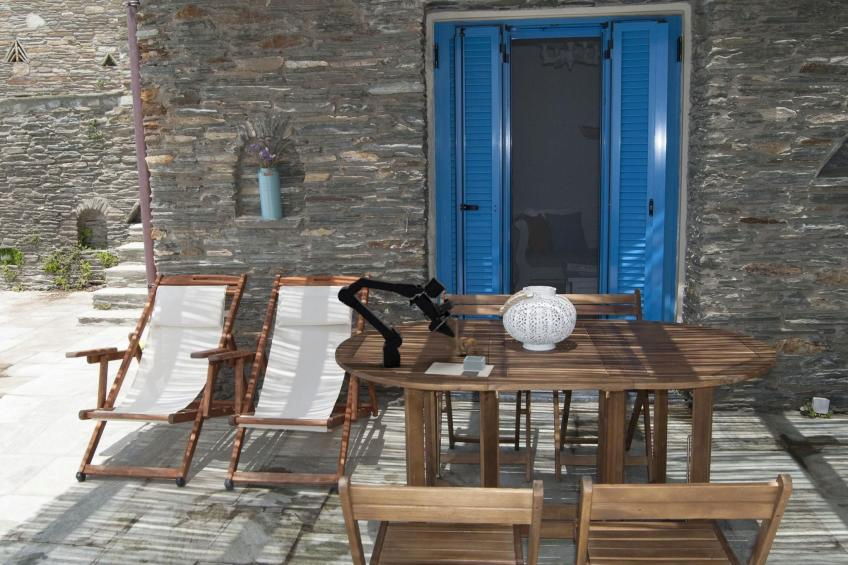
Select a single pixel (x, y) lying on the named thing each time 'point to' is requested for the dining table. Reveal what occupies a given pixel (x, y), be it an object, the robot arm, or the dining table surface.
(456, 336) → the walnut block
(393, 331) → the robot arm
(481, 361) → the sleeve
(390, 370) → the dining table surface
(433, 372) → the board
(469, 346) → the lion figurine
